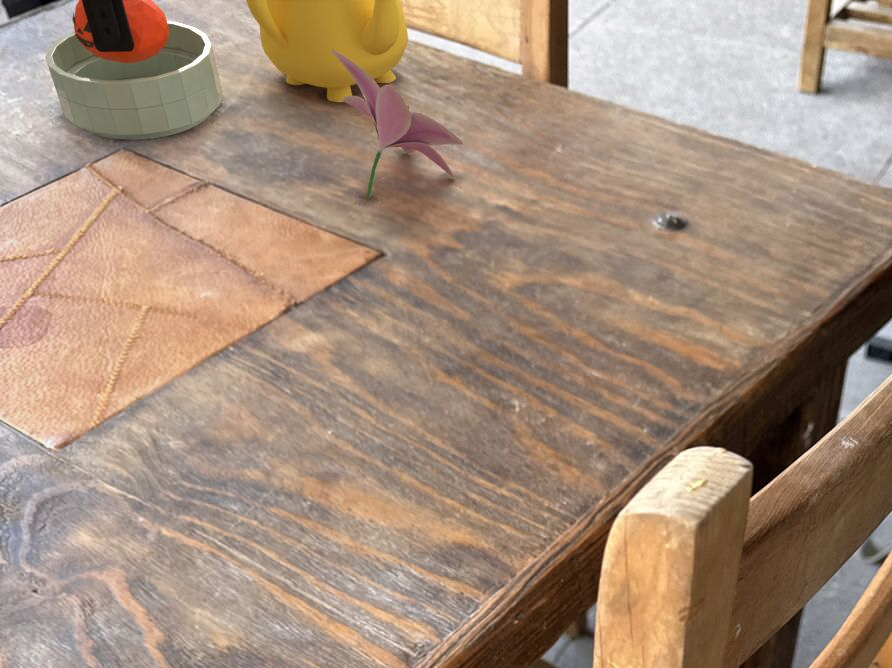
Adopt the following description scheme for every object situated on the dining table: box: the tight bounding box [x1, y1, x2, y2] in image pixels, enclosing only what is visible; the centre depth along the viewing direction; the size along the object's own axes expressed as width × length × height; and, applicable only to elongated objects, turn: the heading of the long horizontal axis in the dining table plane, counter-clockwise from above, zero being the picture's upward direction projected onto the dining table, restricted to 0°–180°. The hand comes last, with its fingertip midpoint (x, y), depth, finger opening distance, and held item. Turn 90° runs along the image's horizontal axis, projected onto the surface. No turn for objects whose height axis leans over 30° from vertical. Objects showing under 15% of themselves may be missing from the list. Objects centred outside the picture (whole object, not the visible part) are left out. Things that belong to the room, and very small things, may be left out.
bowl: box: [44, 20, 223, 141], centre depth 105 cm, size 14×14×5 cm
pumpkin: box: [71, 0, 170, 64], centre depth 101 cm, size 7×8×6 cm
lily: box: [331, 49, 464, 199], centre depth 96 cm, size 12×12×10 cm
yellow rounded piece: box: [245, 0, 409, 103], centre depth 107 cm, size 14×14×12 cm
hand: (123, 30), depth 102 cm, fingers closed on pumpkin, 7 cm apart
